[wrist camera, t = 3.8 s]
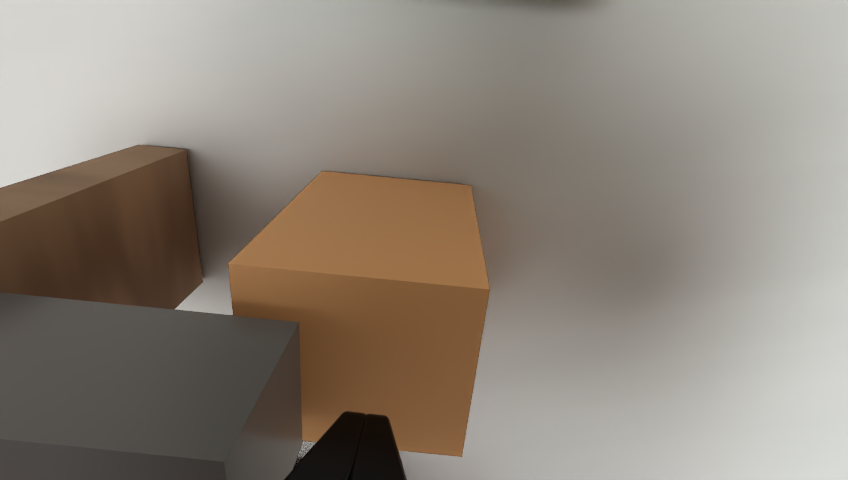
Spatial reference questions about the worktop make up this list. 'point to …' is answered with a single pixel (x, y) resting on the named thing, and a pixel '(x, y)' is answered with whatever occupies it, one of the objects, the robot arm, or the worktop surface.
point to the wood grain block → (104, 231)
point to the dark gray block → (145, 393)
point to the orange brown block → (376, 302)
